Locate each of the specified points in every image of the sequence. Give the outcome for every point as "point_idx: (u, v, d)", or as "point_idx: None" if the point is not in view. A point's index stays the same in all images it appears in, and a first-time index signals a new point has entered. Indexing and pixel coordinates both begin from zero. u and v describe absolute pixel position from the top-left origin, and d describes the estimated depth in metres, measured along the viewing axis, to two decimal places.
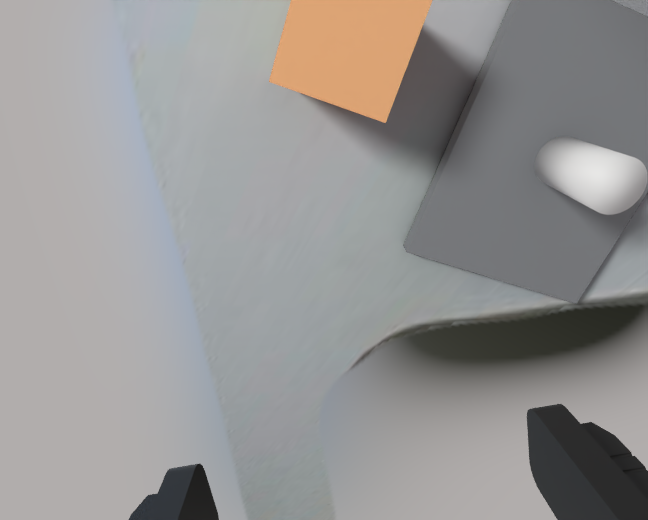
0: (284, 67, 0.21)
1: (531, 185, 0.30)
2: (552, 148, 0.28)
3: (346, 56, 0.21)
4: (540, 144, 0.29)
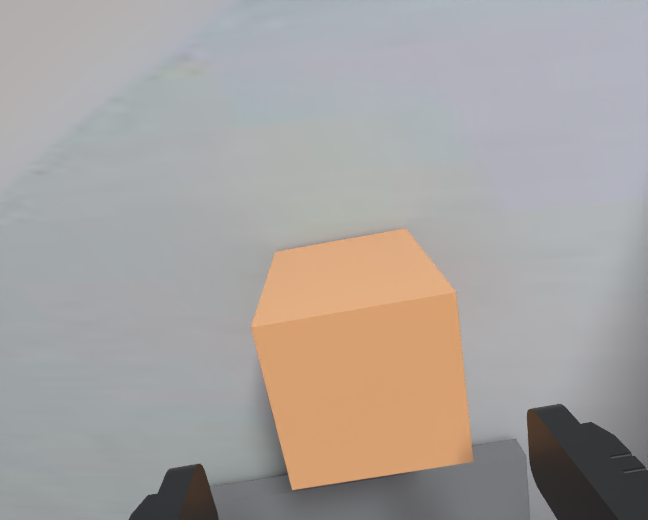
0: (282, 337, 0.13)
1: None
2: None
3: (343, 405, 0.14)
4: None
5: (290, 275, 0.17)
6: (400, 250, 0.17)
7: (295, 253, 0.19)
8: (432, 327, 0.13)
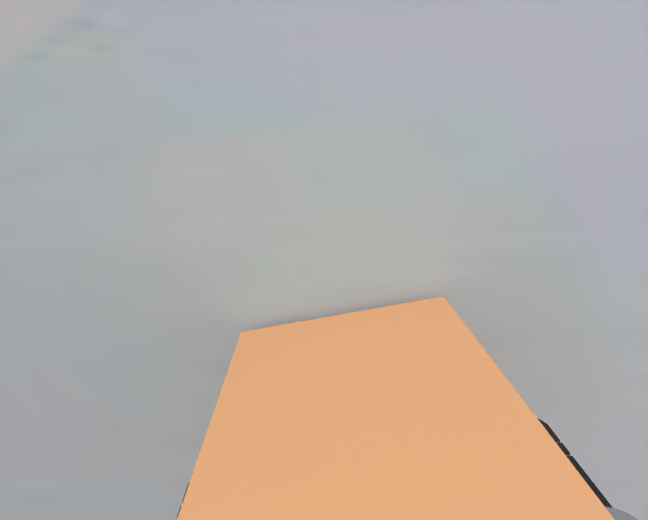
0: None
1: None
2: None
3: None
4: None
5: (257, 400, 0.09)
6: (447, 352, 0.10)
7: (271, 340, 0.12)
8: None
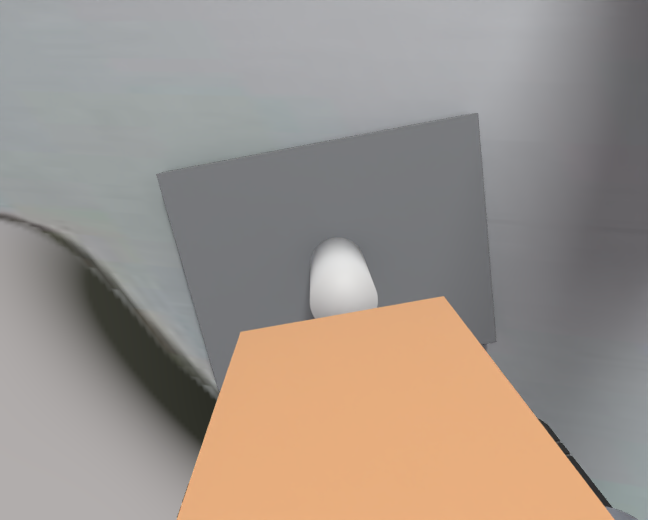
0: None
1: (301, 254, 0.27)
2: (343, 242, 0.26)
3: None
4: (341, 234, 0.27)
5: (257, 400, 0.09)
6: (447, 352, 0.10)
7: (271, 340, 0.12)
8: None
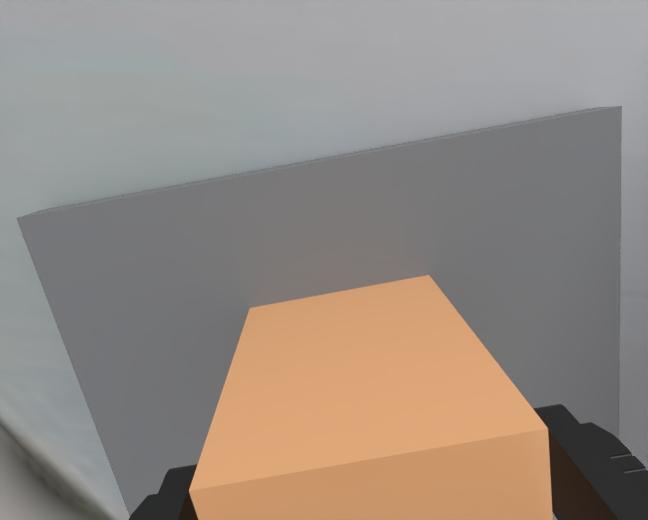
0: (245, 505, 0.07)
1: None
2: None
3: None
4: None
5: (266, 358, 0.11)
6: (428, 317, 0.12)
7: (277, 313, 0.14)
8: (505, 484, 0.07)
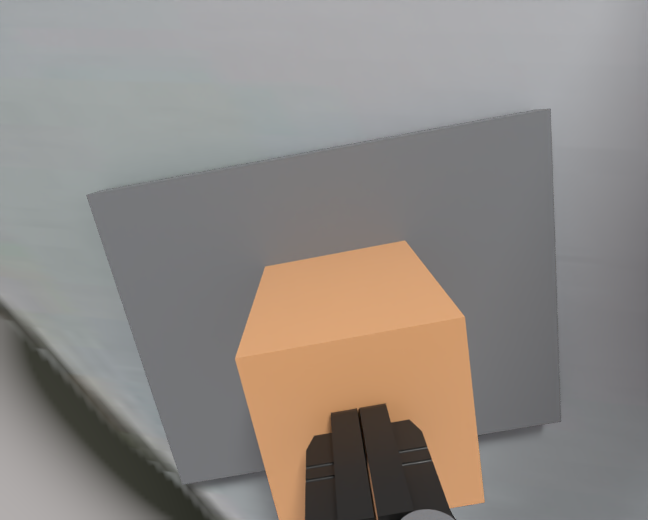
0: (270, 369, 0.12)
1: None
2: None
3: None
4: None
5: (280, 294, 0.15)
6: (400, 266, 0.16)
7: (287, 268, 0.18)
8: (438, 356, 0.12)
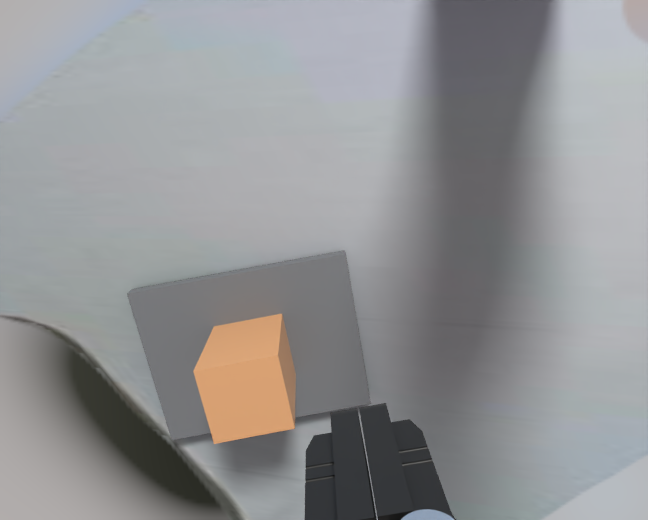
0: (206, 375, 0.31)
1: None
2: None
3: (234, 404, 0.32)
4: None
5: (216, 343, 0.35)
6: (271, 329, 0.35)
7: (223, 328, 0.37)
8: (269, 369, 0.31)
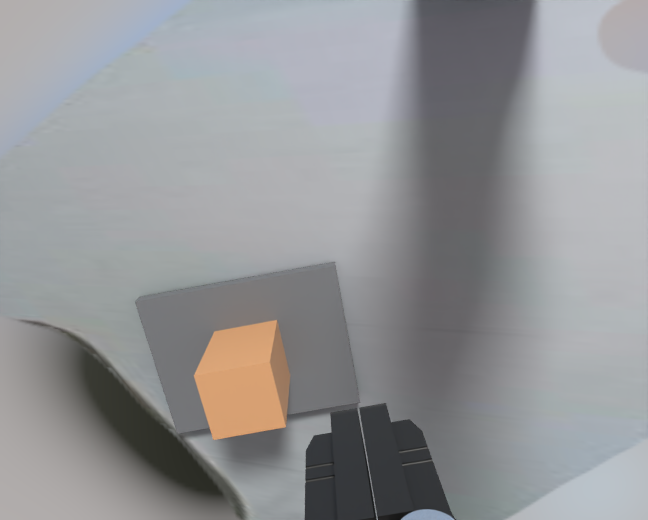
0: (205, 379, 0.34)
1: None
2: None
3: (231, 404, 0.35)
4: None
5: (216, 348, 0.38)
6: (265, 336, 0.38)
7: (223, 333, 0.41)
8: (262, 374, 0.34)
